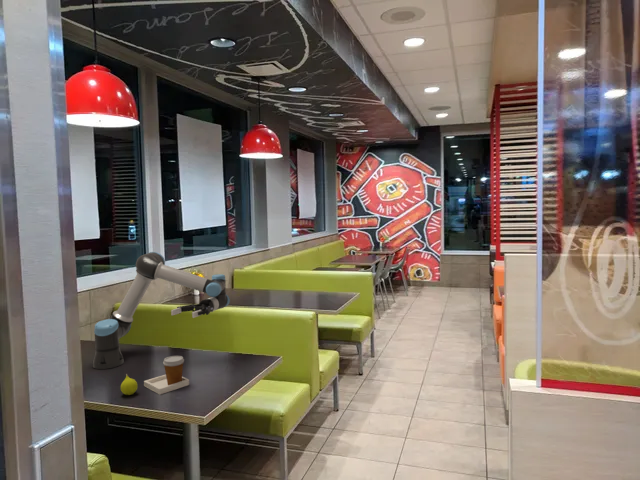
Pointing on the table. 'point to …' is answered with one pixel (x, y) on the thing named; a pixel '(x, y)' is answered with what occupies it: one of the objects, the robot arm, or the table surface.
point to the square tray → (164, 384)
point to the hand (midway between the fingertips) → (182, 313)
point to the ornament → (128, 386)
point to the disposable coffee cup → (173, 369)
